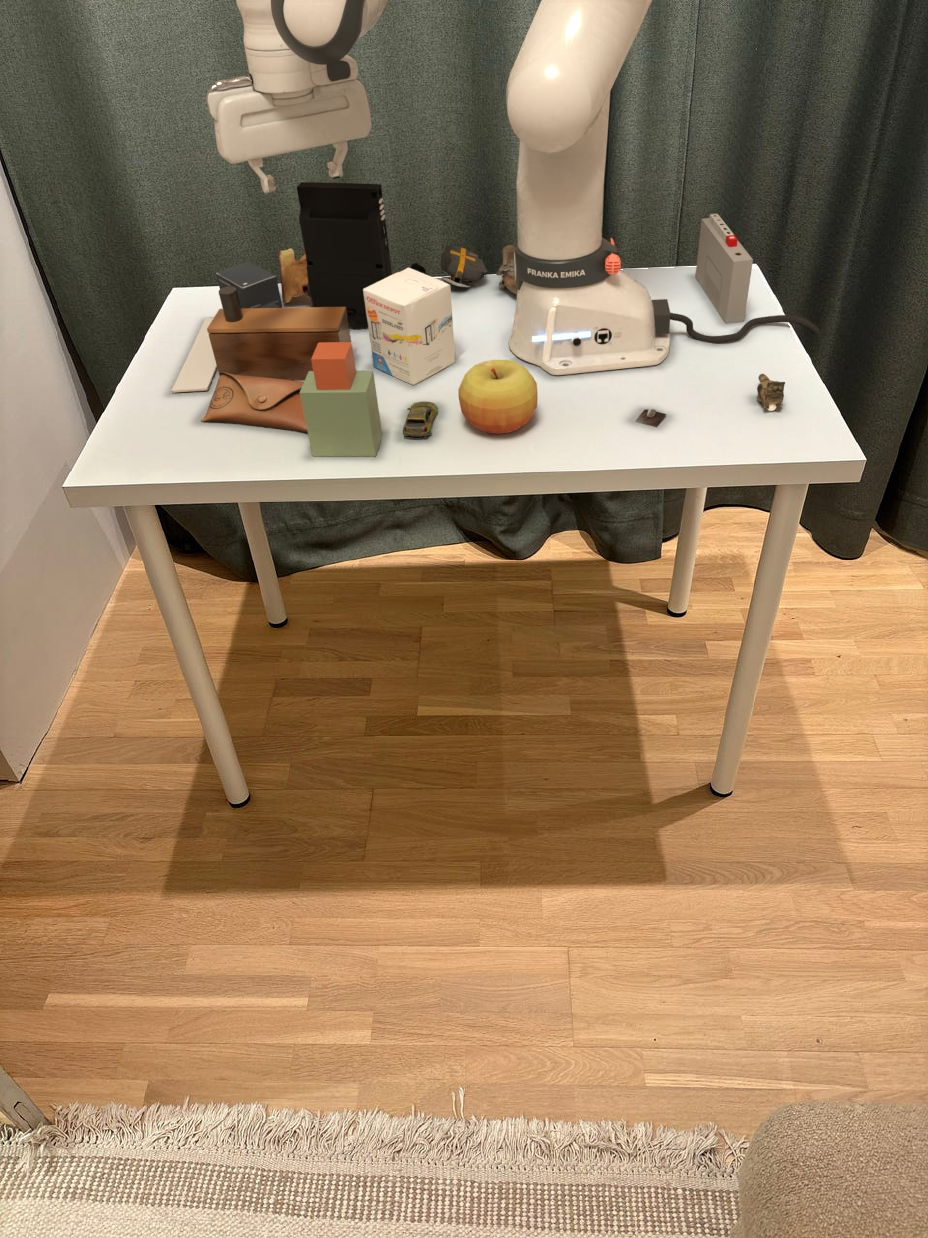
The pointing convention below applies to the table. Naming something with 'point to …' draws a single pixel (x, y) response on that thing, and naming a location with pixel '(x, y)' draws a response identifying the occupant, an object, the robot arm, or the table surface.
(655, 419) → the square knob tile
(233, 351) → the storage box
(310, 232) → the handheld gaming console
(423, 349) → the ink box
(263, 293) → the box
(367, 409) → the block
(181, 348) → the table surface
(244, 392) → the sunglasses case
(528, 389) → the apple
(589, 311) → the robot arm
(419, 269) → the wireless earbuds
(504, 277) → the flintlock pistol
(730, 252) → the cassette player
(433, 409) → the race car
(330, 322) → the lid
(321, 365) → the block
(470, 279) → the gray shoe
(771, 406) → the cat figurine
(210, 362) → the nameplate
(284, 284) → the tan porous chunk
